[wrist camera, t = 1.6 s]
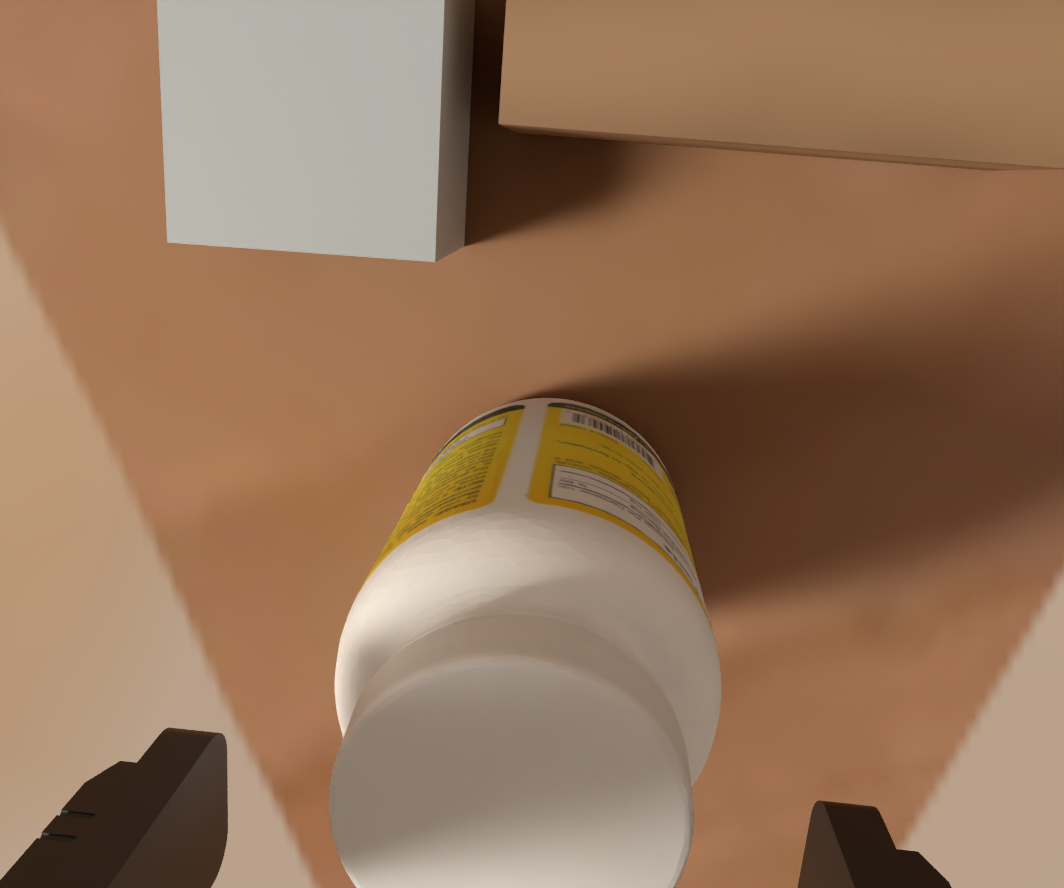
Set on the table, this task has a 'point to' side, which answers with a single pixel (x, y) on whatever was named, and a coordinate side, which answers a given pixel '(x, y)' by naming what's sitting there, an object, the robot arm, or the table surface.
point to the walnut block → (796, 77)
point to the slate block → (317, 124)
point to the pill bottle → (527, 668)
